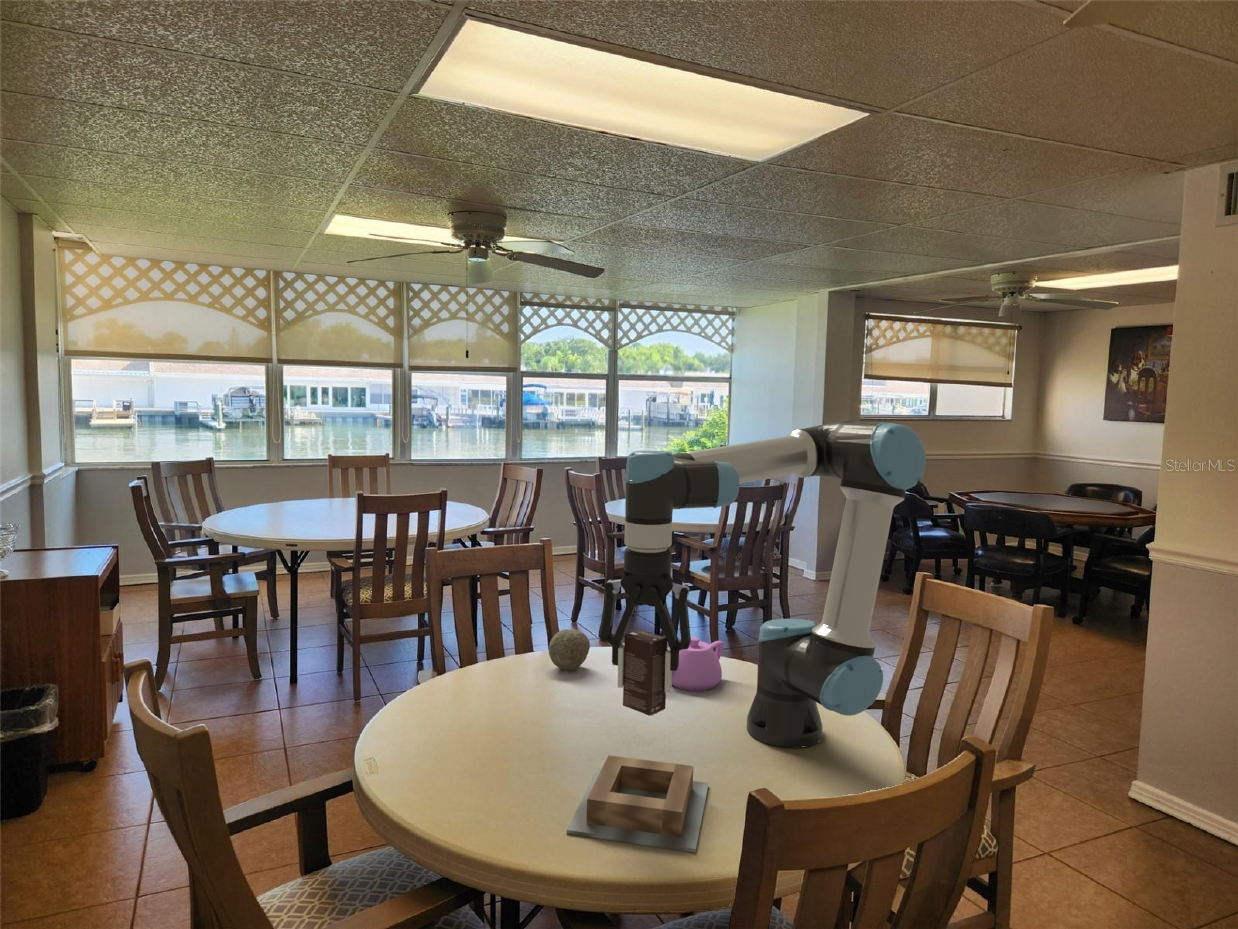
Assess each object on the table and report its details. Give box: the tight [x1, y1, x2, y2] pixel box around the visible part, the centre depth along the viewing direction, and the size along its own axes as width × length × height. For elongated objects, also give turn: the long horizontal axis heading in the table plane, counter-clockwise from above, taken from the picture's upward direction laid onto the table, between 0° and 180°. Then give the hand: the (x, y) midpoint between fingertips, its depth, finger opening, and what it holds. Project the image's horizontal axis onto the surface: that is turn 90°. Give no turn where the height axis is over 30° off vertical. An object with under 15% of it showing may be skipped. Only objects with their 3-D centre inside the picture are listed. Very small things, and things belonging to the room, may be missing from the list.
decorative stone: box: [548, 628, 591, 672], centre depth 186 cm, size 10×8×10 cm
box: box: [622, 630, 668, 717], centre depth 122 cm, size 6×4×12 cm
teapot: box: [672, 636, 724, 692], centre depth 180 cm, size 14×20×11 cm
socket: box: [566, 754, 709, 854], centre depth 124 cm, size 20×20×5 cm
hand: (644, 686), depth 122 cm, fingers closed on box, 7 cm apart
